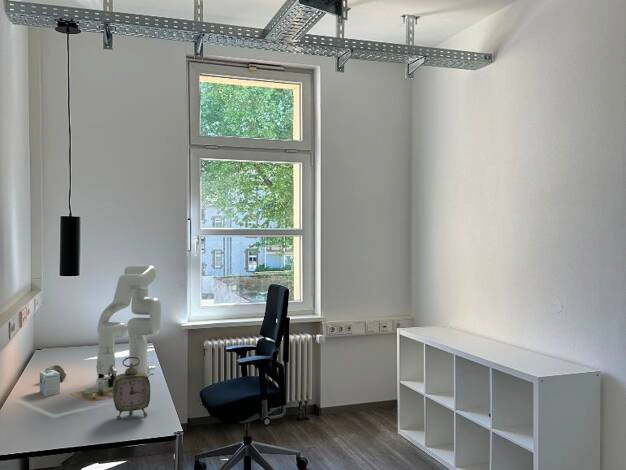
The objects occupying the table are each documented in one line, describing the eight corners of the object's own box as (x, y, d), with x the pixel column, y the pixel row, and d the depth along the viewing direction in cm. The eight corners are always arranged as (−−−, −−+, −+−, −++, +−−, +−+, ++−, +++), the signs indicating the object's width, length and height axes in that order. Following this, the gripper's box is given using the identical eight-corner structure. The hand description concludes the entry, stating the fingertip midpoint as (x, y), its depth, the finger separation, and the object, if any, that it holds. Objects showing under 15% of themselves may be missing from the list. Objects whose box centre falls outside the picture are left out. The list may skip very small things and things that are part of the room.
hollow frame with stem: (109, 386, 280) (109, 376, 280) (117, 388, 276) (117, 378, 276) (82, 392, 270) (82, 381, 270) (89, 394, 265) (89, 384, 265)
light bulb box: (39, 393, 272) (39, 371, 272) (54, 391, 277) (53, 369, 277) (45, 398, 264) (45, 375, 264) (60, 395, 268) (60, 373, 269)
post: (101, 394, 266) (101, 381, 266) (103, 395, 265) (103, 382, 265) (97, 395, 265) (97, 382, 265) (99, 395, 263) (99, 383, 263)
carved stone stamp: (57, 383, 290) (48, 366, 290) (43, 391, 291) (34, 373, 292) (70, 377, 300) (62, 360, 301) (57, 384, 302) (48, 368, 303)
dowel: (94, 398, 259) (94, 393, 259) (96, 399, 258) (96, 393, 258) (92, 399, 258) (92, 393, 258) (93, 399, 257) (93, 394, 257)
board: (110, 387, 284) (110, 384, 284) (134, 394, 269) (134, 392, 269) (67, 396, 267) (67, 394, 267) (91, 405, 253) (91, 402, 253)
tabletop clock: (113, 421, 230) (113, 360, 230) (112, 415, 238) (112, 356, 238) (150, 417, 235) (150, 357, 236) (147, 411, 244) (147, 353, 244)
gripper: (90, 349, 278) (90, 384, 278) (108, 353, 267) (108, 389, 267) (104, 347, 284) (104, 381, 284) (123, 351, 273) (122, 386, 272)
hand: (106, 385), depth 275 cm, fingers open, 9 cm apart
